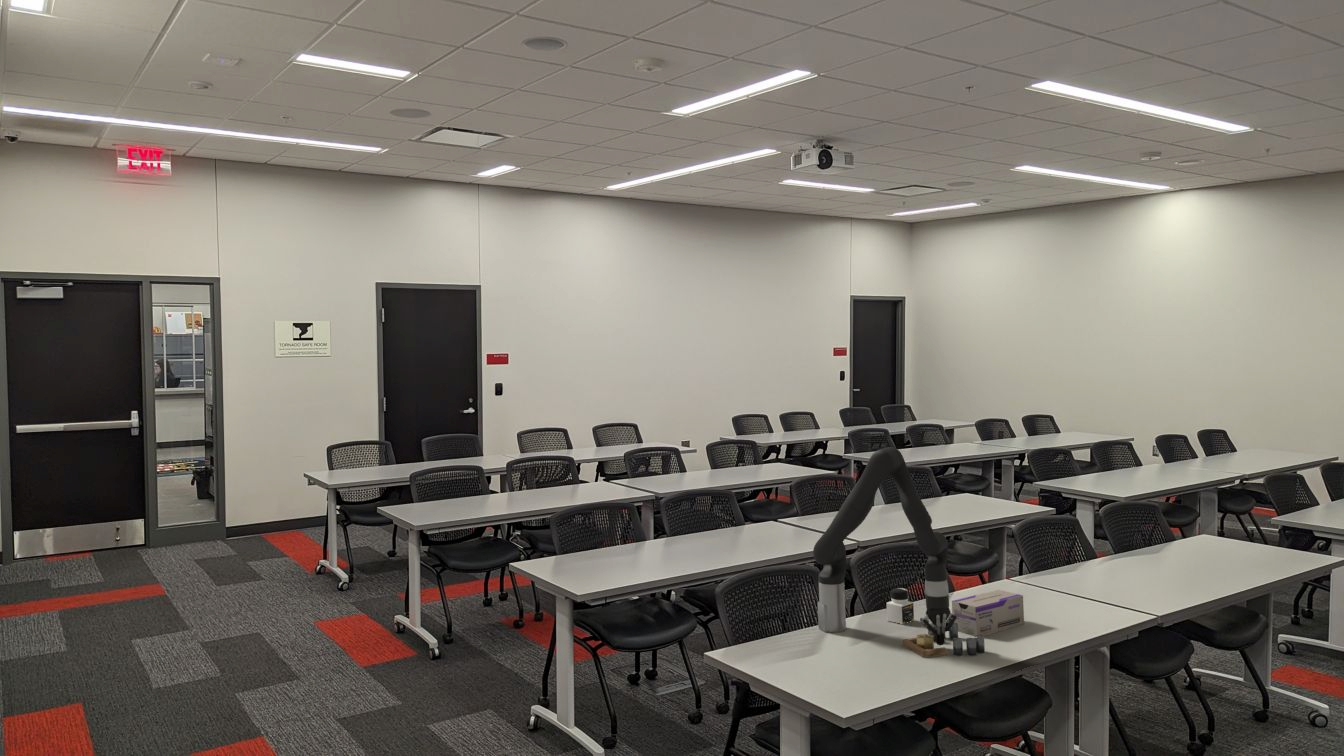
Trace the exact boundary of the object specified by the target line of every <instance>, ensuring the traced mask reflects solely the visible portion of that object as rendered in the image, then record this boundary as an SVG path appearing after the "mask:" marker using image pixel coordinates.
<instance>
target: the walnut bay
mask: <svg viewBox="0 0 1344 756" xmlns="http://www.w3.org/2000/svg"><path fill="white" fill-rule="evenodd" d="M901 641H902V646H903V647H905V648H907V649H908V650H910V651H911V652H913V653H914V654H917V655H918V656H920V657H921V658H923V659H924V658H930V657H939V656H940V657H941V656H946V655H948V654H947V653H948V651H947V649H948V648H946V647H934V649H926V650H925V649H923V648H921V647H920V646H918V645H917V638H916V637H912V638H911V637H910V638H903V639H902V640H901Z"/></svg>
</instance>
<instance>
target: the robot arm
mask: <svg viewBox="0 0 1344 756" xmlns="http://www.w3.org/2000/svg"><path fill="white" fill-rule="evenodd" d="M908 469H909V468H908V465H907V463H906V461H905V458H904V456H903V455H902V452H901V451H900V450H899V449H898V448H896V447H894V446H888V447H884V448H880V449H877V450H876V451H874V452H873V453H872V454H871V456H870V458H869V459H868V462H867V463H866V466H865V468H864V469H863V472H862V473H861V476H860V478H858V481H857V482H856V484H855V485H854V487H852V490H851V491H850V493H848V495H847V497H846V498H845V500H844V501H843V503H842V505H841V507H840V508H839V510H838V511H837V513H836V514H835V516H834V518H833V519H832V521H831V523H830V524H829V526H828V527H827V529H826V530H825V531H824V532H823V534H822V535H821V536H820V538H818V540H817V541H816V542H815V544H814V547H813V552H812V553H813V554H812V555H813V558H814V560H815V561H816V563H817V564H819V565H820V566H821V565H822V566H823V569H822V570H820V572H819V574H818V592H819V593H818V598H819V601H817V619H818V620H817V623H818V629H820V630H821V629H822V631H823V632H824V633H827V632H828V631H829V633H839V631H840V632H843V631H846V630H847V621H846V619H847V618H846V615H847V614H846V597H845V591H846V590H845V577H846V574H847V573H846V572H847V550H846V545H845V543H844V541H845V539H847V538H848V537H849V536H850V535H851V534H852V533H853V532H854V531H856V529H857V528H858V527H859V526H860V525H861V524H862V523H863V522H864V521H865V520H866V518H867V516H868V515H869V514H870V512H871V511H872V508H873V506H874V503H875V498H876V494H877V492H878V489H879V488H880V486H881V485H882V484H883V482H884V481H886V479H887V477H889V476H890V478H891V479H892V480H893V482H894V484H895V485H896V486H895V487H896V488H897V491H898V495H899V499H900V500H899V501H900V503H901V507H902V510H903V513H904V515H905V516H906V519H907V520H908V521H909V523H910V525H911V527H912V529H913V533H914V536H915V539H916V542H917V545H918V547H919V549H920V550H921V552H923V553H924V555H926V556H927V560H926V563H924V579H925V581H924V593H925V606H926V611H925V615H924V617H920V619H919V621H920V622H921V623H922V625H923V626H924V627H925V628H926V629H927V631H928V630H929V631H930V632H932V633H934V634H935V642H934V644H936V645H937V646H944V643H946V642H945V641H946V640H945V639H946V638H945V639H944V633H945V634H946V633H947V632H949V630H950V629H951V627H952V625H953V624H954V622H955V620H956V618H957V616H955V615H953V614H952V612H951V610H950V595H949V583H948V578H947V577H948V576H947V562H948V561H947V560H948V553H949V543H948V540H947V538H946V536H945V535H944V534H943V533H941V532H939V531H934V530H933V527H932V523H933V519H932V517H931V515H930V513H929V511H928V510H927V508H926V505H925V504H924V502H923V501H922V499H921V497H920V496H919V493H918V491H917V489H916V487H915V484H914V482H913V479H912V477H911V475H910V472H909V470H908ZM930 622H931V623H930ZM931 625H932V626H933V627H932V626H931Z"/></svg>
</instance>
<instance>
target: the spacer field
mask: <svg viewBox="0 0 1344 756" xmlns="http://www.w3.org/2000/svg"><path fill="white" fill-rule="evenodd" d="M930 625H931V626H932V624H930ZM932 627H933V626H932ZM927 633H928V635H933V639H934V643H935V634H934V633H932V632H930V631H929V630H928V629H927ZM948 638H949V640H952V655H953V656H957V657H961V656H963V655H964V649H963V648H964V647H963V646H964V645H963V638H960V637H959V632H958V624H957V623H954V624H953V625H952V627H951V629H950V630H949V631H948ZM944 639H946V632H945V633H944ZM965 643H966V655H967V656H970V657H975V656H977V654H984V653H985V651H986V648H985V635H983V636H982V635H976V636H974V637H966V639H965Z"/></svg>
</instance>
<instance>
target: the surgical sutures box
mask: <svg viewBox="0 0 1344 756" xmlns="http://www.w3.org/2000/svg"><path fill="white" fill-rule="evenodd" d="M951 613H952V614H953V615H955V616H957V618H956V620H955V622H954V623H957V624H958V633H962V634H965V635H969V636H972V637H975V636H976V635H982V636H985V635H990V634H993V633H997V632H1001V631H1004V630H1009V629H1012V628H1015V627H1018V626H1023V625H1025V615H1024V613H1025V611H1024V594H1019V593H1015V592H1010V591H1005V590H1001V589H996V590H992V591H988V592H987V591H986V592H983V593H979V594H974V595H970V596H967V597H966V596H965V597H963V598H959V599H953V600H951Z"/></svg>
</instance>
